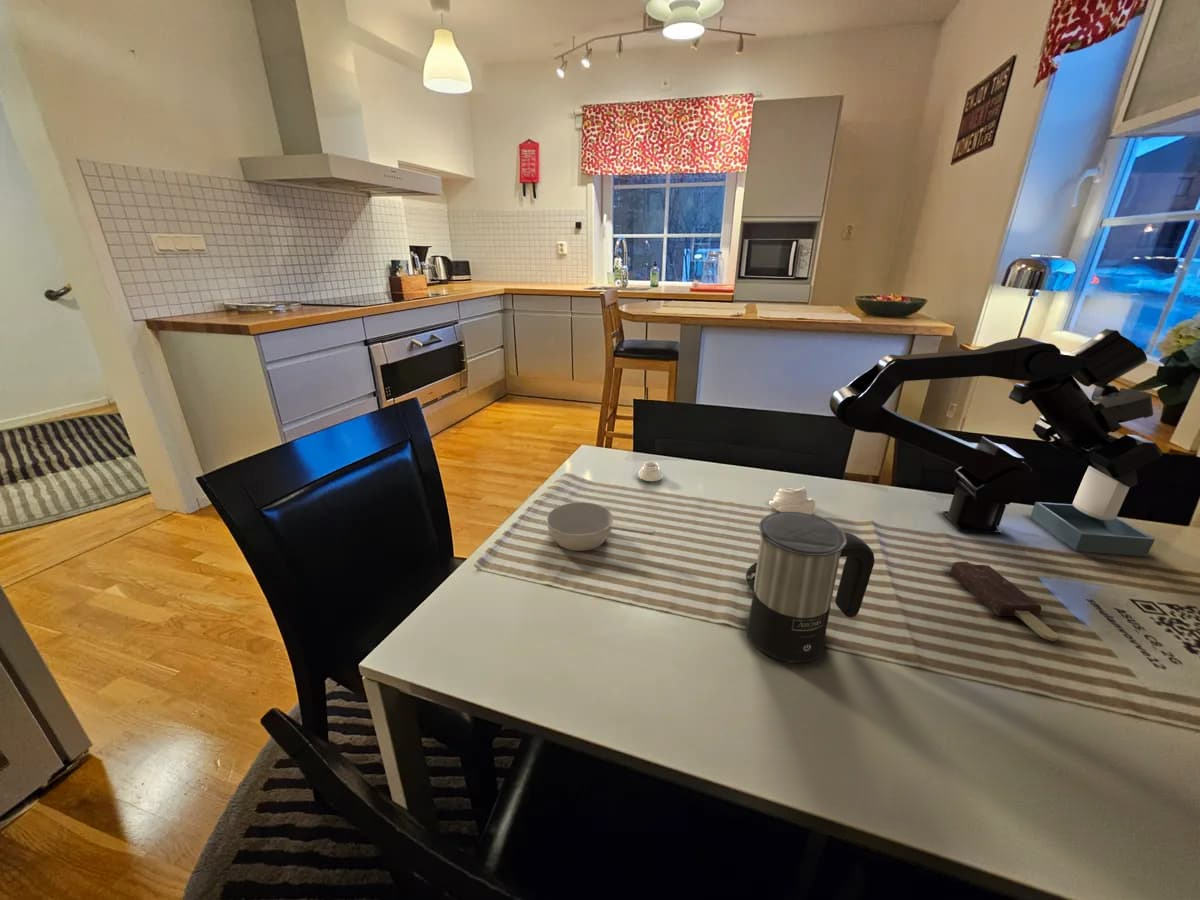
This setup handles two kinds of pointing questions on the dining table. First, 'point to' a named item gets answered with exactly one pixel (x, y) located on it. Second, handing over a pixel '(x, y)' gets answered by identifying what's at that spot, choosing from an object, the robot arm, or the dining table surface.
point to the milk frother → (802, 583)
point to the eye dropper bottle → (1100, 495)
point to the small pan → (584, 525)
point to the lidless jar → (650, 472)
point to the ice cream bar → (1001, 595)
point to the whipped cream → (793, 501)
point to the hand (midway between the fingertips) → (1118, 477)
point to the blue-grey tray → (1091, 530)
